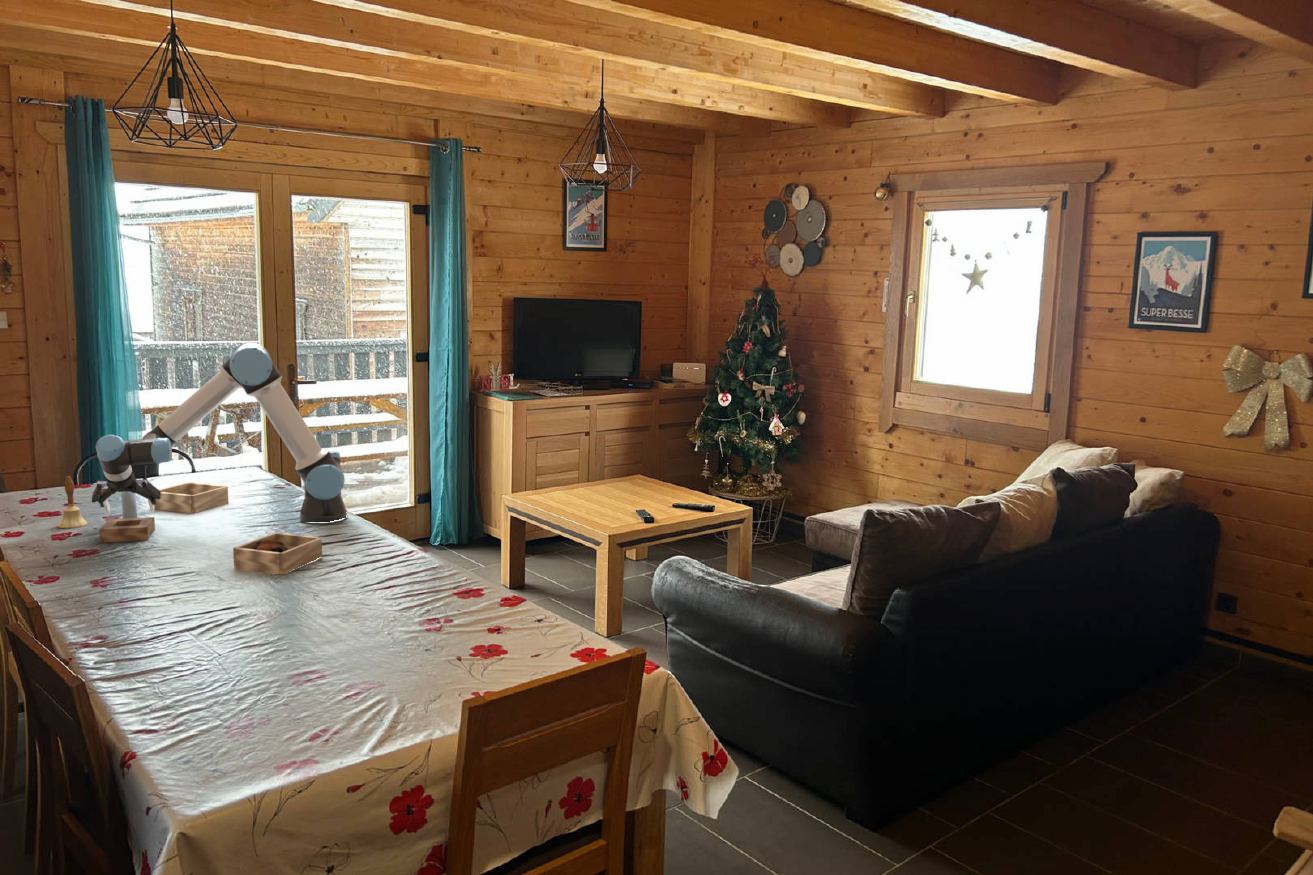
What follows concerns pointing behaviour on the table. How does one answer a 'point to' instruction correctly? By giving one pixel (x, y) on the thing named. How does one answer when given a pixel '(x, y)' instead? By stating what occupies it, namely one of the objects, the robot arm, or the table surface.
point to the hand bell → (71, 509)
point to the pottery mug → (271, 546)
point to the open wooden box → (278, 554)
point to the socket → (127, 529)
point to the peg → (129, 504)
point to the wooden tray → (192, 497)
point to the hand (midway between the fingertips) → (131, 509)
